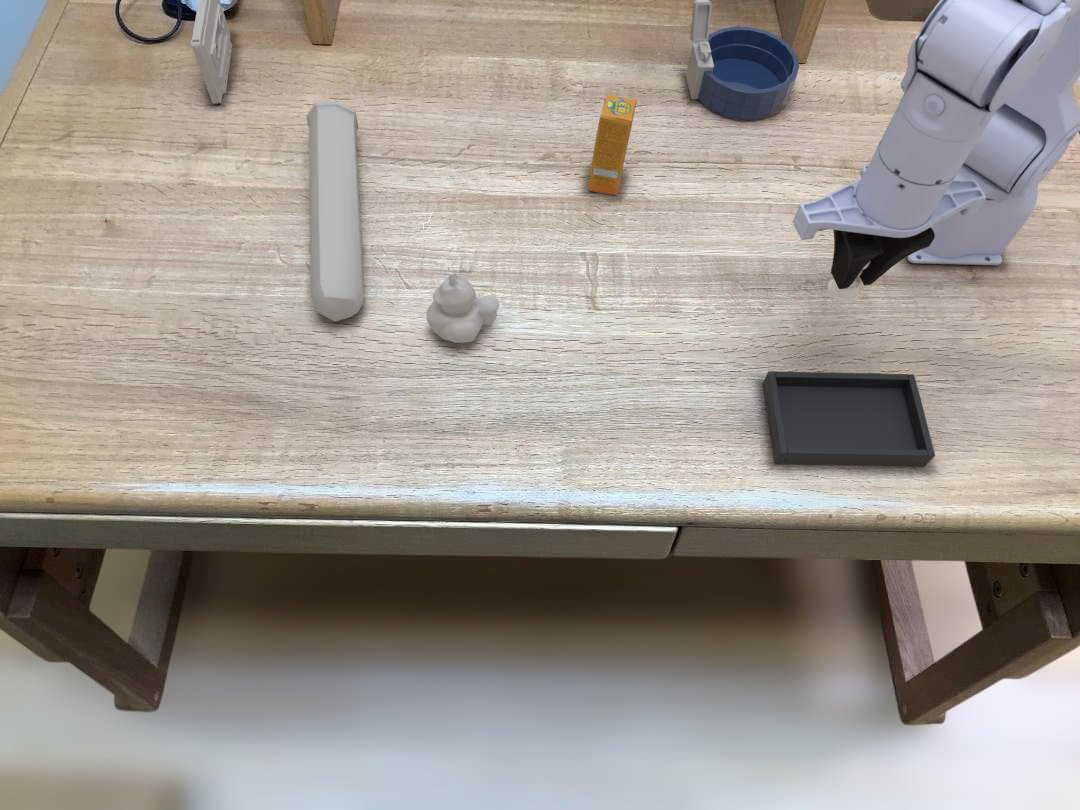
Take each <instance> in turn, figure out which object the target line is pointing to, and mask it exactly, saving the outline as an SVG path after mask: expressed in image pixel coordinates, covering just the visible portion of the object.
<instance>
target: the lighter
mask: <svg viewBox="0 0 1080 810" xmlns="http://www.w3.org/2000/svg"><path fill="white" fill-rule="evenodd" d="M712 7H713V3H712V1H710V0H694V1H693V3H692V15H691V16H692V17H691V25H690V37H689V39H690V40H691V42H692V46H691V51H690V54H689V55H690V56H689V60H688V64H687V68H686V74H685V78H686V83H687V88H688V92H689V95H690V99H691V100H699V98H698V95H699V91H700V87H701V83H702V79H703V74H704V71H710V72H711V73H713V69H714V64H713V60H712V56H711V49H710V45H709V42H708V38H709V34H710V28H711V18H712V9H713V8H712Z"/></svg>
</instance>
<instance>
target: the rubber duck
mask: <svg viewBox="0 0 1080 810" xmlns="http://www.w3.org/2000/svg"><path fill="white" fill-rule="evenodd" d="M432 299H433V301H432V302H431V304H430V305H429V306H428V307H427V310H426V321H427V323H428V325H429V327H430V329H431V330H432V331H433V332H434V333H435V334H436V335H437V336H439V337H440V338H442V339H443V340H445V341H450V342H453V343H456V344H461V343H472V342H473V341H475V340H476V338H477V336H478V334H479V332H480V331H481V329H482V327H483V325H489V324H492V323H494V322H495V321H496V320H497V318H498V313H497V311H498V310H499V307H500V302H499V299H498V298H497V297H496V296H493V295H485V296H481V297H477V293H476V290H475V289H474V287H473V285H472V284H471V282H470V281H469V280H468V279H467V278H466V277H464V276H462V275H460V274H457V273H455V272H453V273H452V274H448V277H447V278H446V279H444V281H442V283H440V285H439V286H438V287H437V288H436V289H435V290H434V292H433V294H432Z"/></svg>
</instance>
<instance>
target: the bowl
mask: <svg viewBox="0 0 1080 810" xmlns="http://www.w3.org/2000/svg"><path fill="white" fill-rule="evenodd" d="M708 42H709V45H710V49H711V56H712V60H713V64H714V69H713V73H711V72H710V71H704V74H703V79H702V83H701V87H700V91H699V95H698V98H699V99H698V100H699V101H700V102H701V104H703V106H705V108H707V109H708V110H710V111H711V112H712V113H715V114H717V115H719V116H721V117H724V118H727V119H731V120H736V121H746V122H747V121H750V122H751V121H758V120H759V121H760V120H763V119H766V118H769V117H771V116H773V115H775V114H776V113H779V112H780V111H781V110H782V109H783V108H784V107H785V106H786V104H788V102H789V100H790V97H791V94H792V91H793V88H794V85H795V82H796V79H797V76H798V73H799V69H800V63H799V58H798V55H797V53H796V51H795V50H794V49H793V48H792V46H791V45H790V44H789V43H788V42H786V41H785V40H784V39H783V38H781V37H780V36H778V35H776V34H775V33H772V32H769V31H768V30H765V29H761V28H756V27H752V26H737V25H736V26H729V27H724V28H720V29H718V30H716V31H713V32H711V33H709V38H708Z"/></svg>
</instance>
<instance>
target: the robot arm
mask: <svg viewBox="0 0 1080 810" xmlns="http://www.w3.org/2000/svg"><path fill="white" fill-rule="evenodd" d="M1079 78H1080V0H939V1H938V2H937V4H936V5H935V6H934V7H933V9H932V10H931V11H930V13H929V14H928V16H927V17H926V19H925V21H924V22H923V24H922V26H921V27H920V29H919V31H918V32H917V34H916V36H915V38H914V39H913V40H912V43H911V46H910V48H909V51H908V55H907V67H906V71H905V73H904V76H903V77H902V80H901V82H900V89H901V90H902V93H903V94H902V97H901V99H900V101H899V102H898V105H897V107H896V109H895V111H894V113H893V114H892V117H891V118H890V121H889V123H888V125H887V127H886V129H885V131H884V133H883V135H882V137H881V139H880V141H879V143H878V145H877V147H876V149H875V151H874V153H873V156H872V157H871V160H870V161H869V163H866V164H863V165H862V167H861V169H860V170H859V176H860V178H858V179H856V180H854V181H852V182H851V183H848V184H846V185H844V186H842V187H840V188H839V189H837V190H835V191H832V192H829V194H826V195H825V196H824V195H823V196H822V197H820V198H817V199H815V200H813V201H808V202H804V203H800V204H799V205H798V208H797V210H796V212H795V214H794V217H793V219H792V223H793V225H794V227H795V230H796V232H797V234H798V236H799V238H800V240H801V241H807V240H813V239H814V238H815V236H816V234H817V232H821V231H829V230H832V232H833V255H832V256H833V257H832V262H831V263H832V264H831V269H830V274H831V276H832V279H834V280H835V282H836V284H837V286H838V288H839V289H846V288H848V287H849V286H850V285H851V284H852V283H853V282H854V281H855V279H856V278H857V276H858V274H859V273H860V271H861V270H862V269H863V268H864V266H865V265H866V264H867V263H868V262H870V261H871V262H870V265H869V266H868V267H867V268H866V269H864V270H862V274H861V275H860V276H859V278H860V282H862V285H863V286H871V285H872V284H873V283H875V282H876V281H877V280H878V279H880V278H881V277H882V276H883V275H884V274H886V273H887V272H888V271H889V270H891V269H892V268H893V267H894V266H896V264H898V263H899V262H901V261H902V260H904V259H907V261H908V262H909V263H911V264H927V265H928V264H932V265H933V264H934V265H937V264H938V265H939V264H940V265H968V266H969V265H972V266H1000V265H1001V264H1002V263H1003V258H1002V253H1003V252H1004V251H1005V250H1006V248H1008V246H1009V244H1010V243H1011V242H1012V240H1014V238H1015V237H1016V235H1017V234H1018V233H1019V232H1020V230H1021V229H1022V228H1023V226H1024V225H1025V224H1026V222H1027V221H1028V220H1029V219H1030V217H1031V215H1032V213H1033V211H1034V209H1035V206H1036V203H1037V200H1038V194H1039V185H1040V183H1041V182H1042V181H1043V180H1044V179H1045V178H1046V177H1047V176H1048V175H1049V174H1050V172H1052V170H1053V169H1054V168H1055V166H1057V164H1058V162H1059V161H1060V160H1062V157H1063V156H1064V154H1065V153H1066V151H1067V150H1068V148H1069V145H1070V144H1071V143H1072V141H1073V140H1074V139H1075V137H1076V136H1077V135H1078V134H1079V132H1080V108H1079V104H1078V102H1077V99H1076V95H1075V93H1074V84H1076V82H1077V80H1079Z"/></svg>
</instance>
